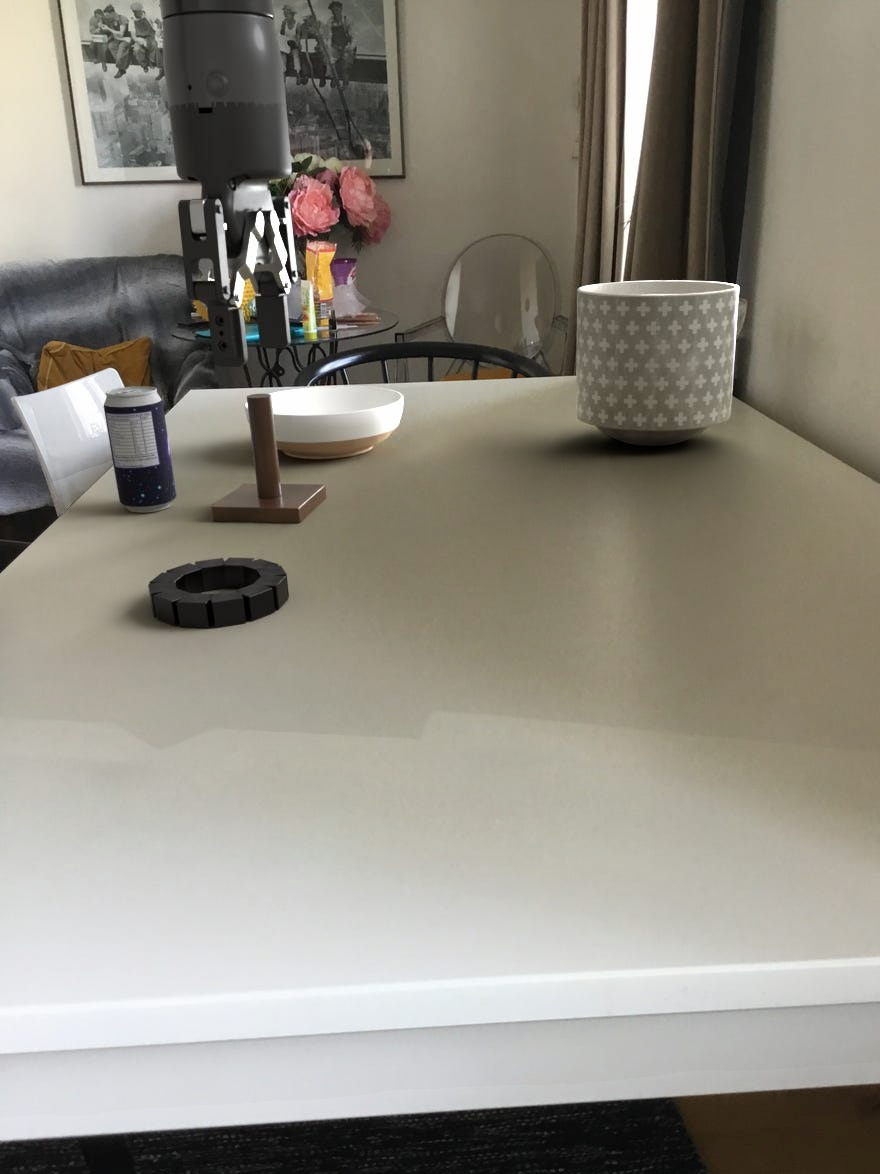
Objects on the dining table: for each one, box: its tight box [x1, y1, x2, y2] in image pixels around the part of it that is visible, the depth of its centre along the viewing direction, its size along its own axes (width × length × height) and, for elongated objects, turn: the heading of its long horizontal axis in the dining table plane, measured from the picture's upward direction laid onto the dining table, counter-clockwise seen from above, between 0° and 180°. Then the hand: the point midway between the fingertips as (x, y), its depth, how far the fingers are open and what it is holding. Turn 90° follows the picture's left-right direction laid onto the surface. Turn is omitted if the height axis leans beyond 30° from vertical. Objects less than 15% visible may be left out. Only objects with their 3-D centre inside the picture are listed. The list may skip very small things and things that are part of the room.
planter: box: [575, 280, 740, 447], centre depth 129 cm, size 19×19×18 cm
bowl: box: [244, 385, 404, 460], centre depth 131 cm, size 20×20×6 cm
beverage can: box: [103, 385, 177, 514], centre depth 107 cm, size 6×6×12 cm
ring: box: [147, 557, 290, 629], centre depth 83 cm, size 10×10×2 cm
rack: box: [210, 393, 327, 524], centre depth 105 cm, size 9×9×12 cm
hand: (254, 356), depth 75 cm, fingers open, 8 cm apart
